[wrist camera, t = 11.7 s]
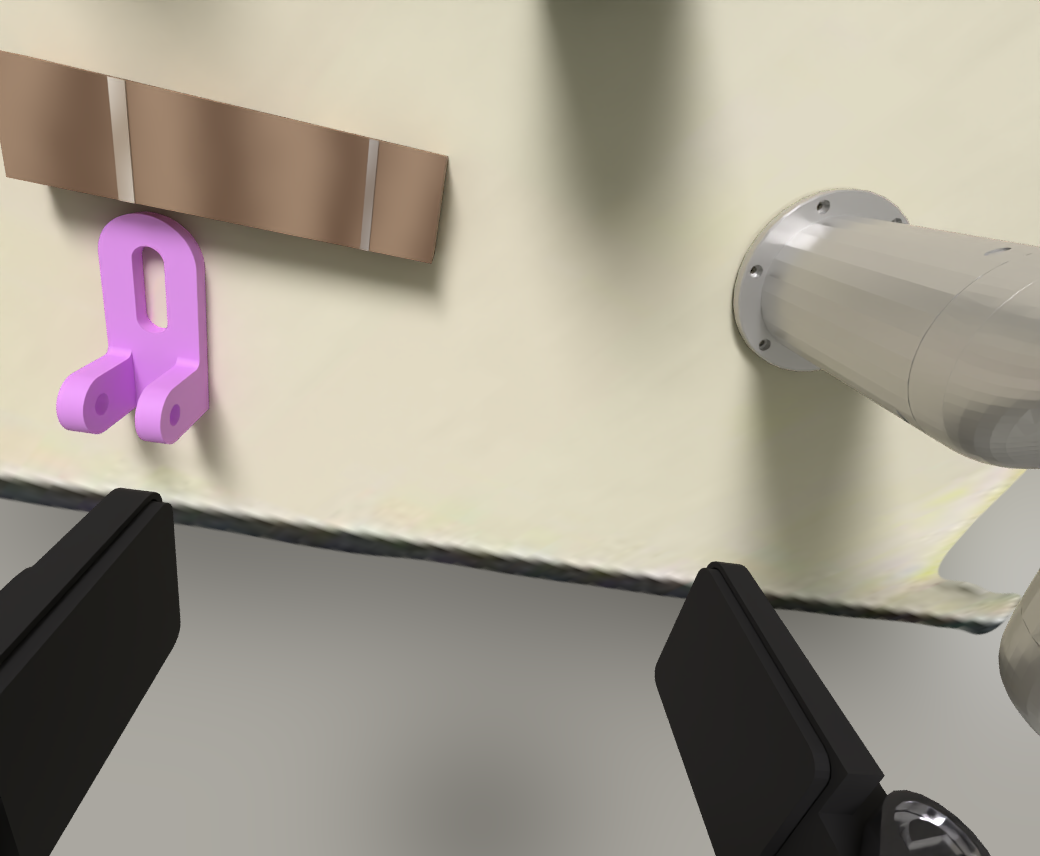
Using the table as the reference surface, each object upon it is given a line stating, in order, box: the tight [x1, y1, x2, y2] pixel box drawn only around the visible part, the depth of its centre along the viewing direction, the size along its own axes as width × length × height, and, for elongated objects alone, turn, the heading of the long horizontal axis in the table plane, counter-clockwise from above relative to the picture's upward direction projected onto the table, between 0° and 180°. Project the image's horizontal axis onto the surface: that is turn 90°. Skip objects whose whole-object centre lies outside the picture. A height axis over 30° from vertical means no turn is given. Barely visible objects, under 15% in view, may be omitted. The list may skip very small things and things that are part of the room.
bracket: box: [56, 212, 209, 444], centre depth 34 cm, size 13×6×7 cm, turn 168°
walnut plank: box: [0, 50, 448, 264], centre depth 32 cm, size 23×6×3 cm, turn 78°
